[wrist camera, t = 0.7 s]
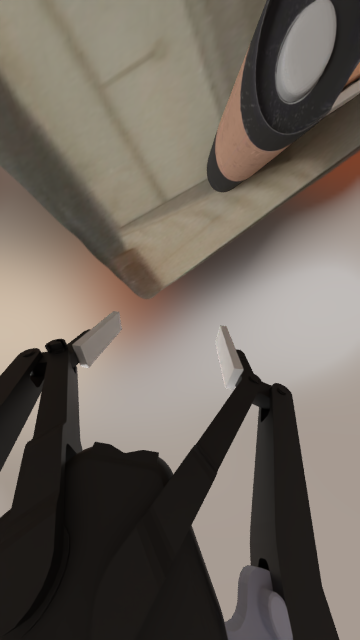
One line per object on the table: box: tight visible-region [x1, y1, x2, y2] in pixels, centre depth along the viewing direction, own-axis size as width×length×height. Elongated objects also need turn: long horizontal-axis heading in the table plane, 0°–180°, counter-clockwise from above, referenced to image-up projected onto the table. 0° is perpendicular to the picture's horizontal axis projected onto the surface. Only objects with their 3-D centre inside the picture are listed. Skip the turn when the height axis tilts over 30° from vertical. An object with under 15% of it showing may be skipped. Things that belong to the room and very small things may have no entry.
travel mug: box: [207, 0, 360, 192], centre depth 17 cm, size 8×8×20 cm
